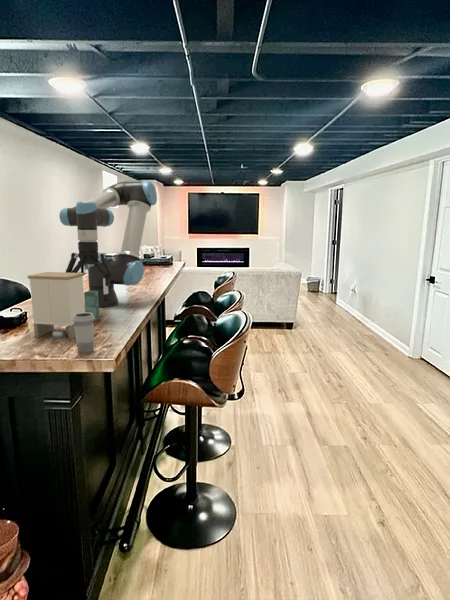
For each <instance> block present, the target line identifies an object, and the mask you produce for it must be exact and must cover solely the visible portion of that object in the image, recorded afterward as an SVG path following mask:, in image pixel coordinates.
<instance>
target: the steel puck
mask: <svg viewBox="0 0 450 600" xmlns="http://www.w3.org/2000/svg"><path fill="white" fill-rule="evenodd" d="M51 337H52V339H57V340H59V339H64V338H65V339H66V338H67V337H68V331H67V329H66V327H65V328H62V327H61V328H54V330H52V331H51Z"/></svg>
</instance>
